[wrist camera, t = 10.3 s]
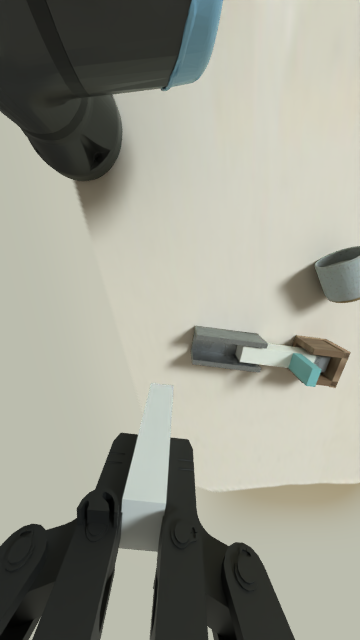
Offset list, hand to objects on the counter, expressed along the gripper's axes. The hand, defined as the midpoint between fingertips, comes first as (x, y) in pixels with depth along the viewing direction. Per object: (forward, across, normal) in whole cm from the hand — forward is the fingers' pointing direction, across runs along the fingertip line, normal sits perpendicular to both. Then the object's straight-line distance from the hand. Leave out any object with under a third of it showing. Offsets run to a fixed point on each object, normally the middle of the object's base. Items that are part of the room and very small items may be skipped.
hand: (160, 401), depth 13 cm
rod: (+28, +24, -7) cm, 37 cm away
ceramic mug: (+30, +31, +12) cm, 45 cm away
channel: (+29, +12, -7) cm, 33 cm away
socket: (+29, +31, -7) cm, 43 cm away
